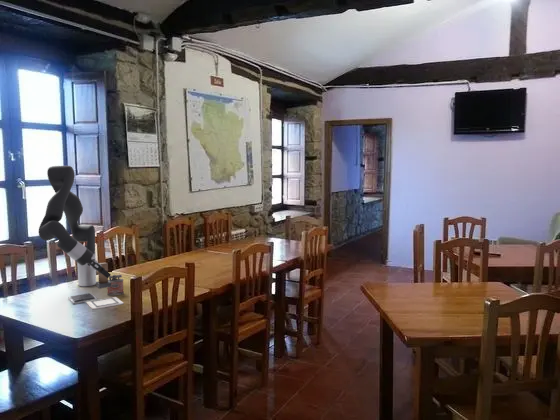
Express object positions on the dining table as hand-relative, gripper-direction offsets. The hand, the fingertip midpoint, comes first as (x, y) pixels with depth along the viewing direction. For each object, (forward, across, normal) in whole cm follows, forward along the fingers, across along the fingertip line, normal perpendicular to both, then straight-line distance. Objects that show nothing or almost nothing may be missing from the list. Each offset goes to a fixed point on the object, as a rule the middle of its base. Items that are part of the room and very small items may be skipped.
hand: (107, 275), depth 218 cm
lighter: (+15, +13, +5) cm, 20 cm away
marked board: (+8, 0, +11) cm, 14 cm away
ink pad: (+3, +13, +16) cm, 21 cm away
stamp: (+2, 0, +5) cm, 6 cm away
